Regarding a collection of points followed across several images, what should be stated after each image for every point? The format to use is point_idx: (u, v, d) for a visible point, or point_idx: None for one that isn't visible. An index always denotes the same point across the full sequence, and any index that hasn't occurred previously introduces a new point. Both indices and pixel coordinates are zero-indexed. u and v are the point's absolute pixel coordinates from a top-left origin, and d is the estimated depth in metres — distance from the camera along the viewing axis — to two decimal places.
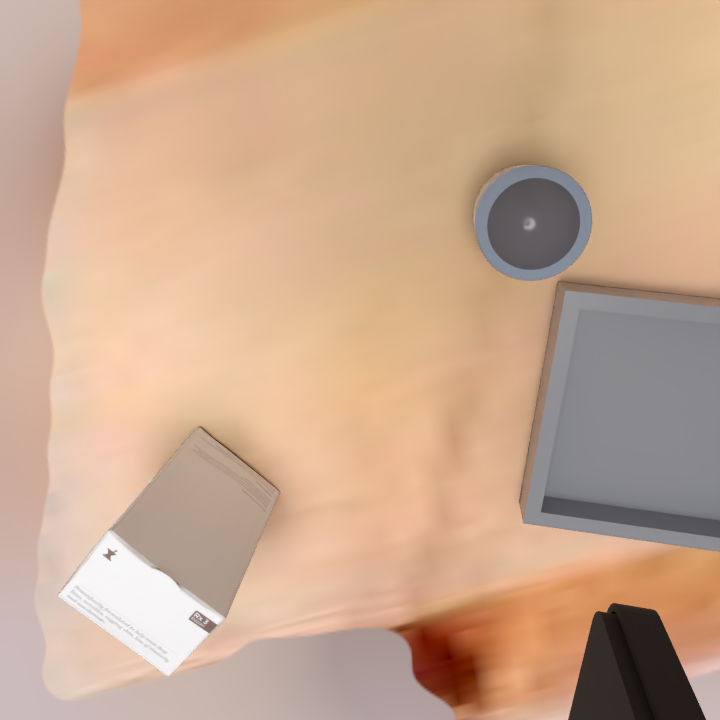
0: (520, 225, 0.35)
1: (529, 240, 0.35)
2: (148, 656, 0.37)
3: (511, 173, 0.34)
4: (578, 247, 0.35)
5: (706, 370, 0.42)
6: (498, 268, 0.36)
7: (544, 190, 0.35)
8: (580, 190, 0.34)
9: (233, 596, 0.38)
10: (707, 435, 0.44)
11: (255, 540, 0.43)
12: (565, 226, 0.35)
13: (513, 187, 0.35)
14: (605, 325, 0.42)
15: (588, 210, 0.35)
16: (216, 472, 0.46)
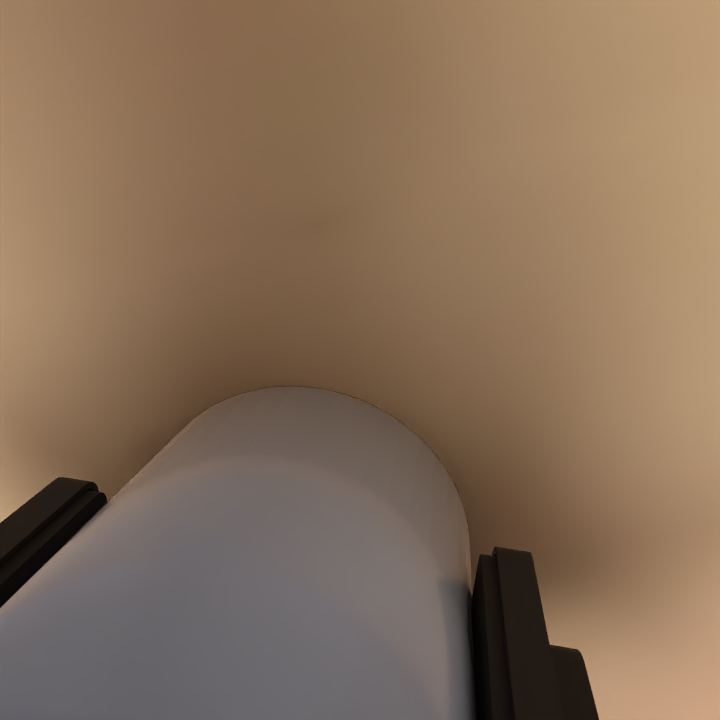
0: None
1: None
2: None
3: None
4: None
5: None
6: None
7: None
8: None
9: None
10: None
11: None
12: None
13: None
14: None
15: None
16: None
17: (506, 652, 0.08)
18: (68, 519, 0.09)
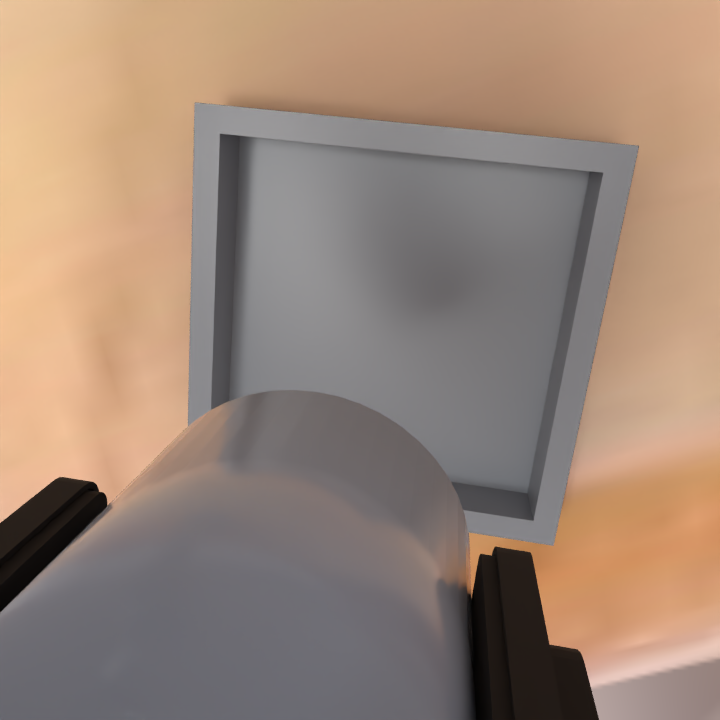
0: None
1: None
2: None
3: None
4: None
5: (448, 249, 0.27)
6: None
7: None
8: None
9: None
10: (460, 354, 0.28)
11: None
12: None
13: None
14: (293, 176, 0.27)
15: None
16: None
17: (506, 652, 0.08)
18: (68, 519, 0.09)
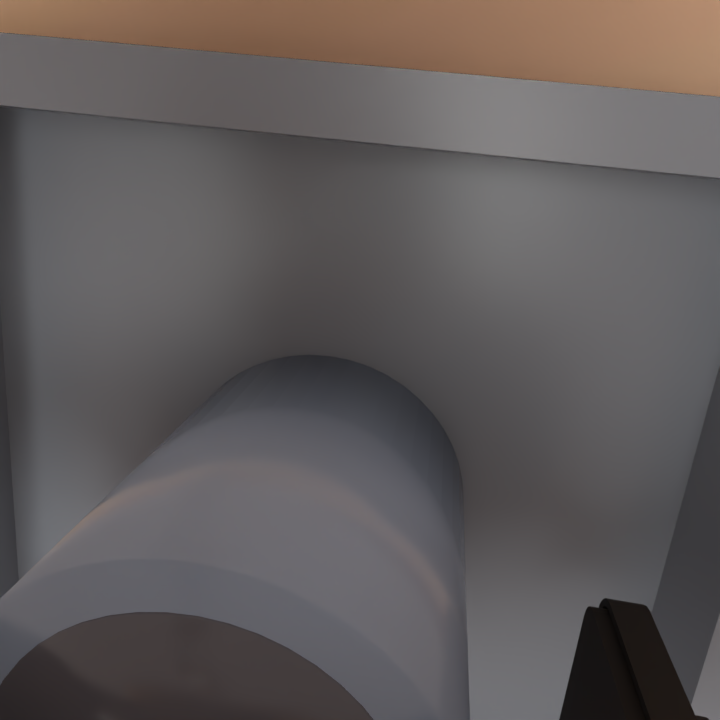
0: None
1: None
2: None
3: (49, 582, 0.07)
4: None
5: (441, 350, 0.13)
6: None
7: (223, 671, 0.07)
8: (406, 691, 0.06)
9: None
10: (465, 558, 0.14)
11: None
12: None
13: (66, 645, 0.07)
14: (106, 194, 0.13)
15: None
16: None
17: None
18: None
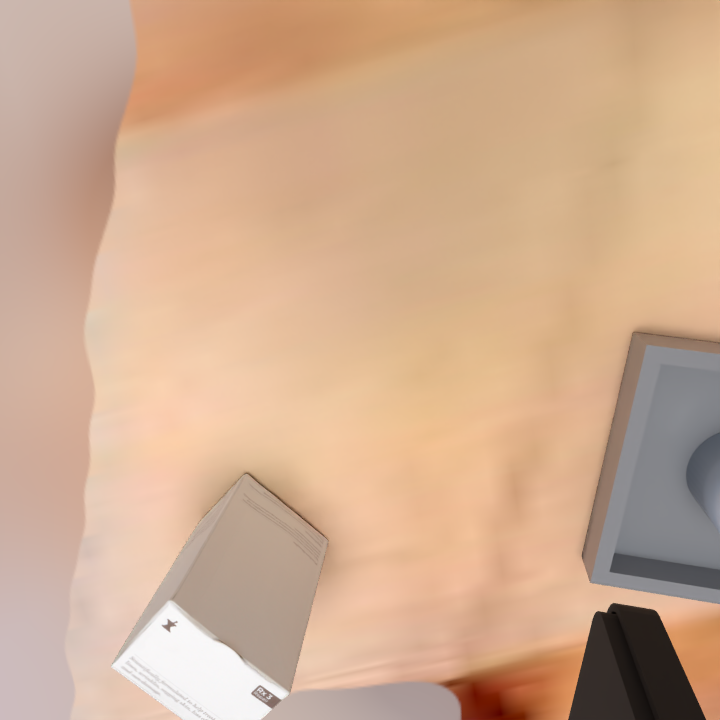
0: None
1: None
2: None
3: None
4: None
5: None
6: None
7: None
8: None
9: (295, 666, 0.36)
10: None
11: (310, 599, 0.41)
12: None
13: None
14: (683, 378, 0.40)
15: None
16: (267, 523, 0.44)
17: None
18: None
